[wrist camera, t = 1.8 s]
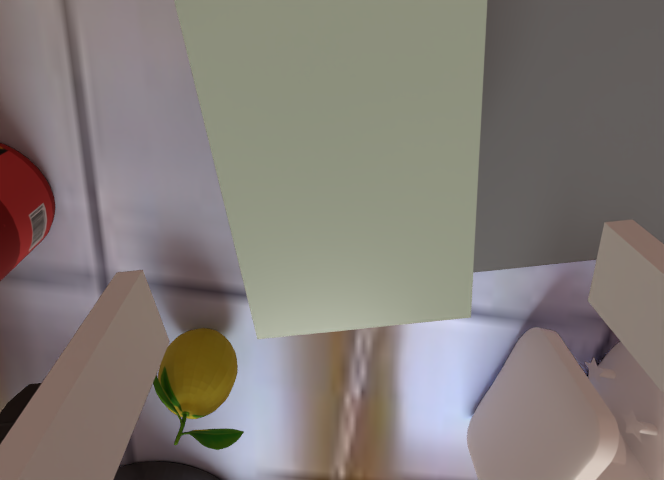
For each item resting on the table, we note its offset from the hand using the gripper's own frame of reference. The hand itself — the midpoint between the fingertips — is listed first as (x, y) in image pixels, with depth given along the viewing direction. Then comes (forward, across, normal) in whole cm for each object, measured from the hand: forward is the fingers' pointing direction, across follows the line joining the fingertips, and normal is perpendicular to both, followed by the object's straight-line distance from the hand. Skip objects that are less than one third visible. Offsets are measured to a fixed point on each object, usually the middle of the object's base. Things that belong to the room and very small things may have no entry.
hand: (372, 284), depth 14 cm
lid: (+12, 0, 0) cm, 12 cm away
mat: (+18, -15, +2) cm, 24 cm away
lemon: (+18, +12, +16) cm, 27 cm away
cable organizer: (+18, -16, +25) cm, 35 cm away
